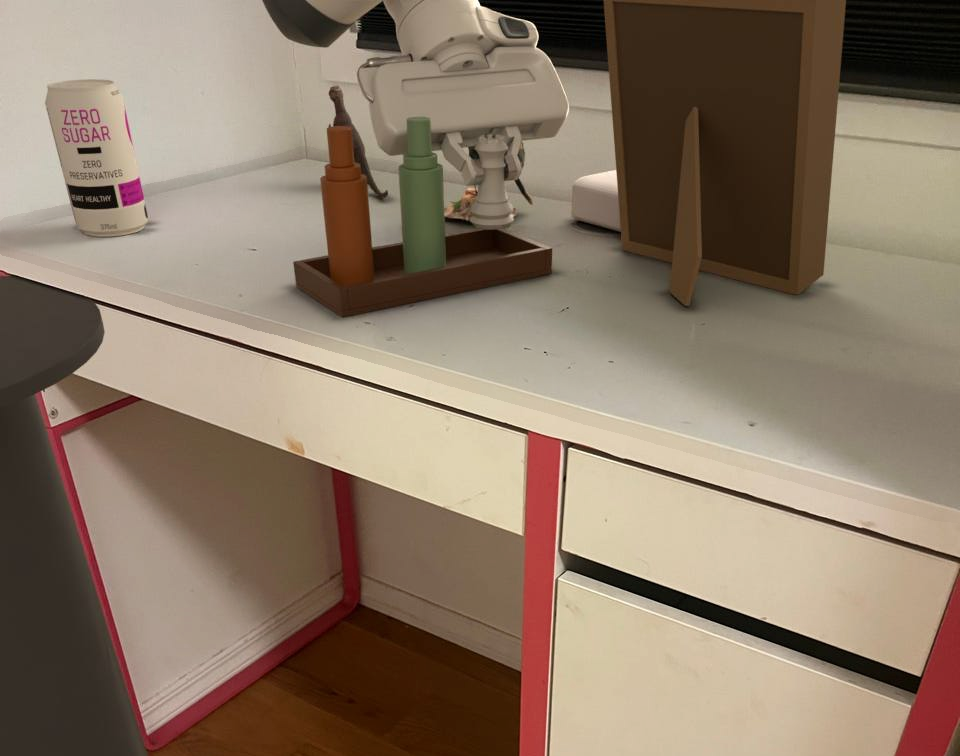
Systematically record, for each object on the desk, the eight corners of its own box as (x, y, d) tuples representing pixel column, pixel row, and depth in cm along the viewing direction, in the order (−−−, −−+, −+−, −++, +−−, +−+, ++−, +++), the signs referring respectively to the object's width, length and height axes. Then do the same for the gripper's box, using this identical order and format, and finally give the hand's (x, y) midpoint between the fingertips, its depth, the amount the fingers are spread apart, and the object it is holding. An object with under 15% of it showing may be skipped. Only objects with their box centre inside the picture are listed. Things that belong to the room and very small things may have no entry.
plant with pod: (505, 233, 110) (506, 27, 98) (428, 218, 115) (420, 22, 103) (544, 217, 115) (550, 20, 103) (469, 204, 120) (466, 16, 108)
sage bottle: (417, 284, 93) (409, 124, 85) (397, 273, 96) (387, 117, 88) (454, 277, 95) (449, 119, 87) (433, 266, 98) (427, 113, 90)
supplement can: (134, 216, 118) (103, 76, 109) (160, 230, 112) (130, 84, 103) (68, 227, 114) (31, 83, 105) (92, 242, 109) (55, 91, 99)
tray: (342, 317, 88) (339, 289, 86) (296, 287, 95) (292, 261, 93) (551, 273, 97) (552, 248, 96) (495, 249, 105) (495, 225, 103)
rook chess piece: (490, 233, 94) (490, 143, 90) (460, 224, 97) (458, 137, 92) (523, 224, 97) (524, 136, 92) (493, 216, 99) (492, 130, 94)
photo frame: (647, 242, 106) (671, -33, 91) (821, 285, 93) (884, -26, 78) (555, 270, 98) (565, -25, 83) (732, 322, 85) (782, -17, 70)
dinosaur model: (337, 81, 125) (401, 102, 116) (346, 177, 133) (407, 204, 124) (310, 86, 123) (373, 108, 114) (321, 183, 131) (381, 210, 122)
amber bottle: (343, 299, 90) (327, 134, 82) (324, 287, 93) (307, 126, 84) (382, 291, 92) (371, 128, 83) (363, 280, 95) (350, 121, 86)
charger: (665, 248, 104) (570, 222, 113) (720, 233, 109) (625, 209, 118) (669, 202, 101) (572, 178, 110) (726, 188, 106) (628, 167, 115)
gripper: (357, 35, 88) (405, 170, 87) (548, 22, 95) (595, 147, 94) (345, 84, 94) (390, 211, 93) (526, 68, 101) (570, 187, 100)
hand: (495, 179), depth 94 cm, fingers closed on rook chess piece, 3 cm apart
